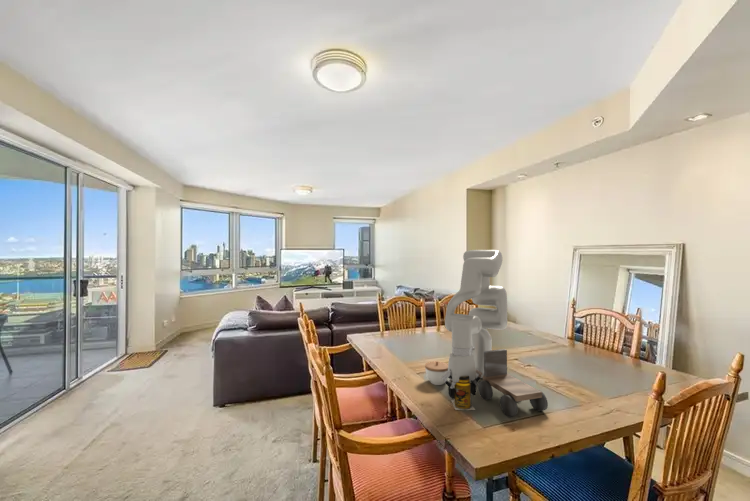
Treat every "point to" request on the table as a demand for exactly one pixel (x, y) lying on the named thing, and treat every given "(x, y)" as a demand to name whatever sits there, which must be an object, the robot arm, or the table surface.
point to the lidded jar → (436, 372)
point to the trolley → (507, 385)
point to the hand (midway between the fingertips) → (462, 395)
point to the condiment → (462, 394)
